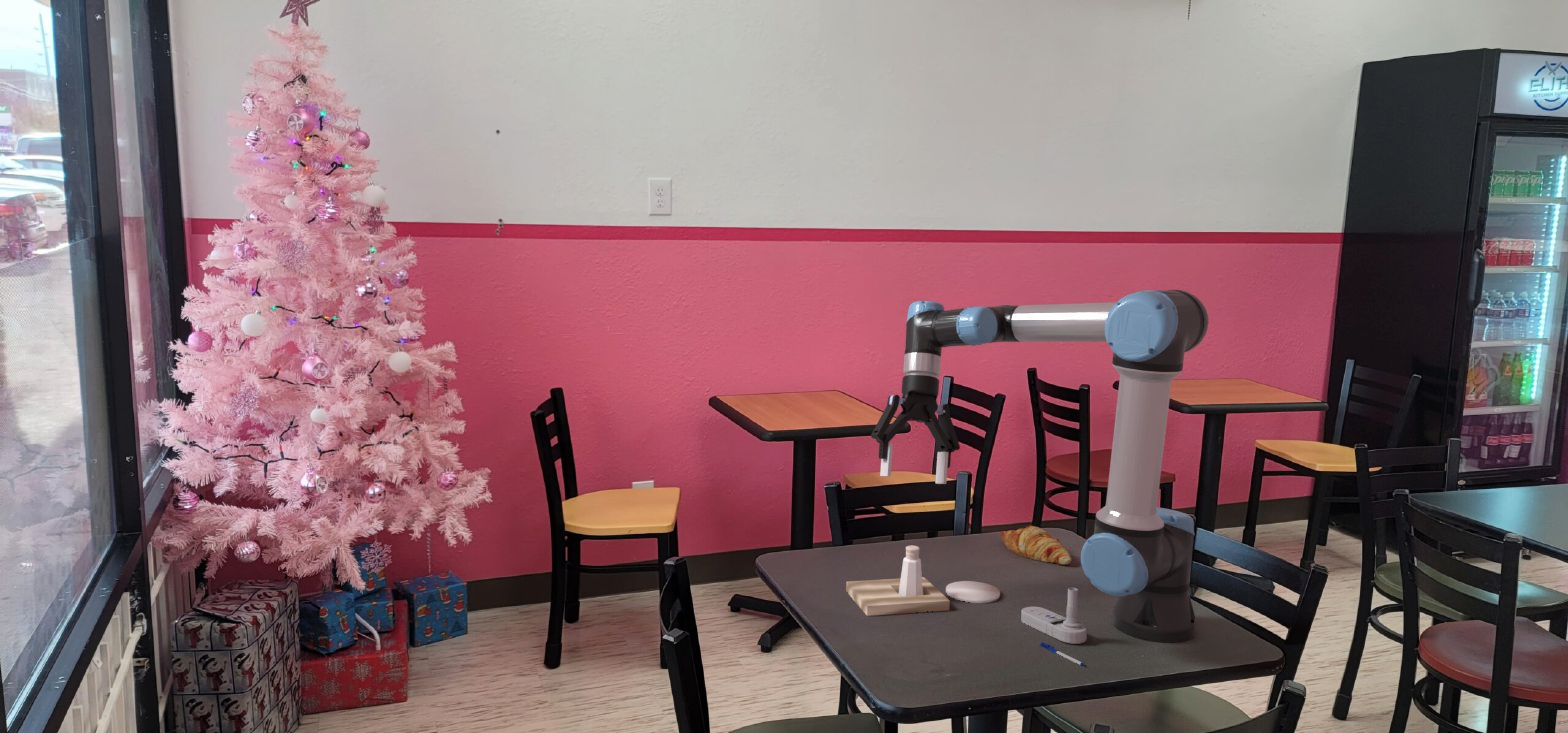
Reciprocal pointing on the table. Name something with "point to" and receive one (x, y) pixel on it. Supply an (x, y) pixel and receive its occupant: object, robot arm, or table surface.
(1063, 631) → the electronic device
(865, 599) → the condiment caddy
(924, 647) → the table surface
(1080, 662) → the ballpoint pen
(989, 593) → the saucer
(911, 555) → the pepper shaker
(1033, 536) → the croissant
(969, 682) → the table surface
